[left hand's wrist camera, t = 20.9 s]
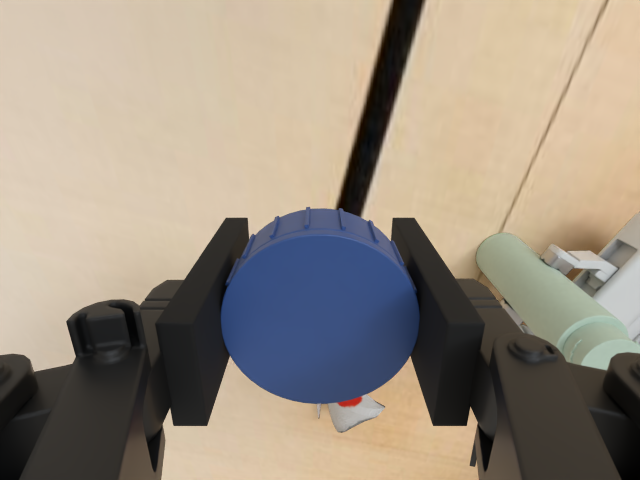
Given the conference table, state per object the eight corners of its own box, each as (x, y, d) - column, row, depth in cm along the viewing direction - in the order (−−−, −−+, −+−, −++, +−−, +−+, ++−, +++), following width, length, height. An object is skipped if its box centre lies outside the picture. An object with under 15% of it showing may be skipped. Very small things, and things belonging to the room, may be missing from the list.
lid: (230, 201, 11) (211, 227, 9) (418, 210, 11) (438, 237, 9) (235, 355, 13) (221, 402, 11) (396, 361, 13) (409, 409, 11)
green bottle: (494, 284, 40) (597, 407, 25) (466, 254, 38) (557, 365, 24) (533, 254, 38) (665, 365, 24) (505, 223, 37) (626, 319, 22)
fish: (442, 330, 36) (408, 429, 29) (376, 392, 47) (340, 475, 40) (340, 266, 37) (284, 347, 31) (299, 342, 49) (252, 413, 42)
